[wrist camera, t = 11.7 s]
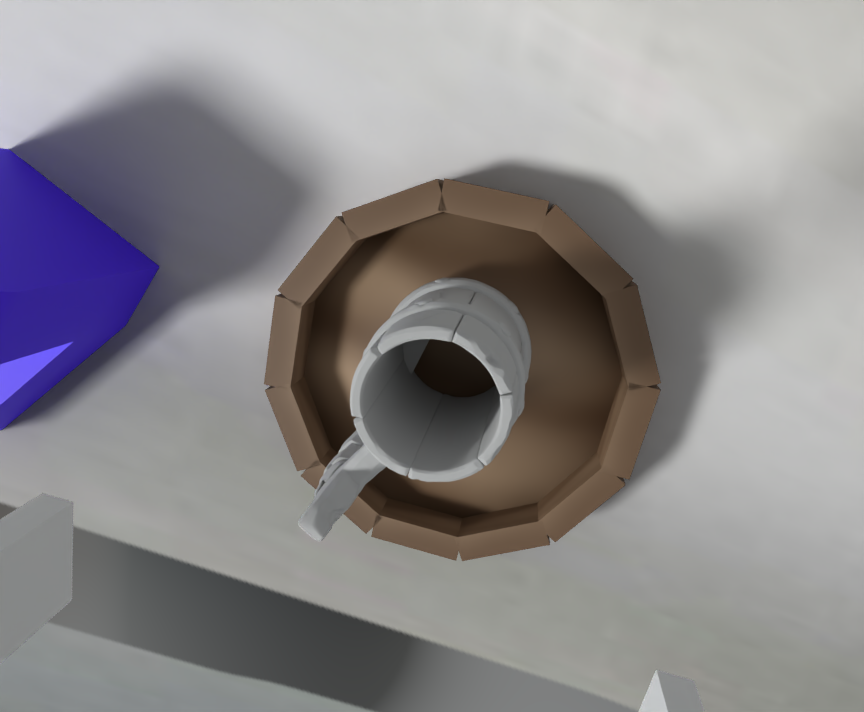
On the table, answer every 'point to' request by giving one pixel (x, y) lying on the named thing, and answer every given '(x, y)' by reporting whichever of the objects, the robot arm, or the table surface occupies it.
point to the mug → (427, 396)
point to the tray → (470, 363)
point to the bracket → (56, 284)
